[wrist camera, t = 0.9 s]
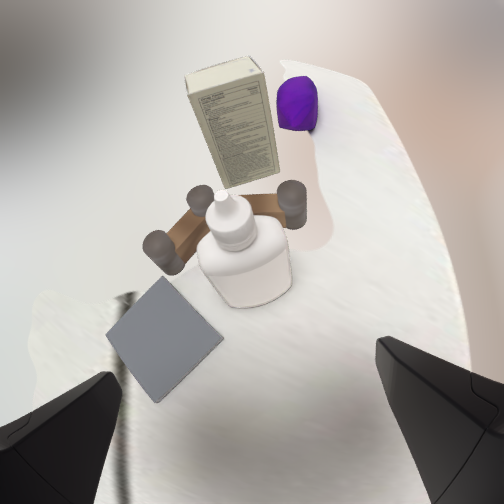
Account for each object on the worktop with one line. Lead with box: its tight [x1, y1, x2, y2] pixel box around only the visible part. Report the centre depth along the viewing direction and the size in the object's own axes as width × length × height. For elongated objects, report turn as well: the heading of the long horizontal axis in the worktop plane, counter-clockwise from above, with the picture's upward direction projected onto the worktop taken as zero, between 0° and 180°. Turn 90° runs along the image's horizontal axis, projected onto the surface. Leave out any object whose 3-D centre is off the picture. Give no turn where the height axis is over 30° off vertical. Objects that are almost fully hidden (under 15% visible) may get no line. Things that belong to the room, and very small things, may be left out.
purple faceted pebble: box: [277, 76, 318, 131], centre depth 32 cm, size 5×5×15 cm
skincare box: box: [184, 56, 280, 189], centre depth 25 cm, size 6×4×12 cm
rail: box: [143, 180, 307, 275], centre depth 24 cm, size 13×8×4 cm, turn 137°
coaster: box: [106, 276, 224, 403], centre depth 22 cm, size 8×8×1 cm
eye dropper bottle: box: [197, 190, 292, 308], centre depth 18 cm, size 4×6×12 cm
